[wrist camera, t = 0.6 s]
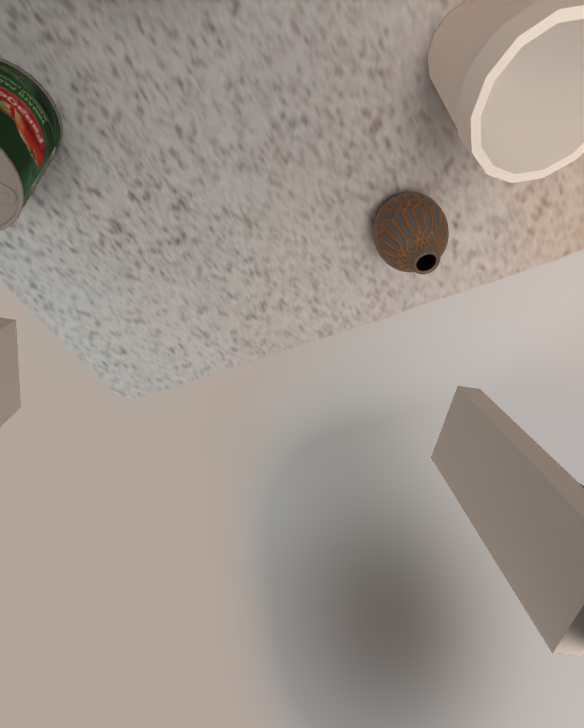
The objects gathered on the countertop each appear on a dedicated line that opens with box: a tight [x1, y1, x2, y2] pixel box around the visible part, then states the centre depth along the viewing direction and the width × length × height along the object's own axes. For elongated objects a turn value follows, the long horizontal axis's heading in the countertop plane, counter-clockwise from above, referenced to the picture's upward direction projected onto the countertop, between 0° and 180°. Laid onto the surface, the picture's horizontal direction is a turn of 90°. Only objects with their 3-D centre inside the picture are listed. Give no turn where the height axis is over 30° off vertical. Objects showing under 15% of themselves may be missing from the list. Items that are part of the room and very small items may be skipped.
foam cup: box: [427, 0, 584, 183], centre depth 30 cm, size 10×9×13 cm
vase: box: [373, 192, 449, 274], centre depth 42 cm, size 7×7×9 cm
